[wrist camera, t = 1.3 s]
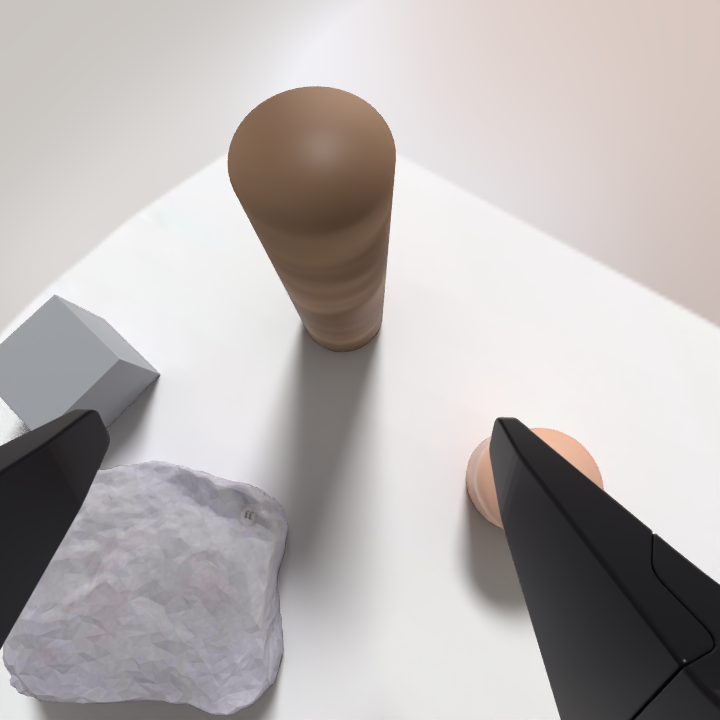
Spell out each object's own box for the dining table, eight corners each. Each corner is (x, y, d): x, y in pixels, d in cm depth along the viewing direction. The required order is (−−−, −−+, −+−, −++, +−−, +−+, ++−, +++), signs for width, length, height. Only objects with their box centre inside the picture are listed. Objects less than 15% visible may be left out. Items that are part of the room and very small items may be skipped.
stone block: (104, 467, 24) (40, 674, 20) (49, 450, 20) (-46, 711, 16) (304, 479, 24) (282, 689, 20) (294, 465, 20) (263, 730, 16)
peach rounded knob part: (523, 551, 21) (558, 574, 17) (446, 484, 22) (463, 491, 18) (580, 475, 22) (626, 481, 18) (503, 413, 22) (531, 405, 19)
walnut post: (346, 368, 23) (316, 266, 10) (287, 317, 24) (193, 165, 11) (398, 309, 24) (430, 147, 11) (339, 262, 25) (307, 59, 12)
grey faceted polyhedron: (95, 440, 23) (38, 438, 19) (40, 382, 24) (-26, 368, 20) (161, 374, 23) (119, 359, 20) (105, 319, 24) (54, 294, 20)
